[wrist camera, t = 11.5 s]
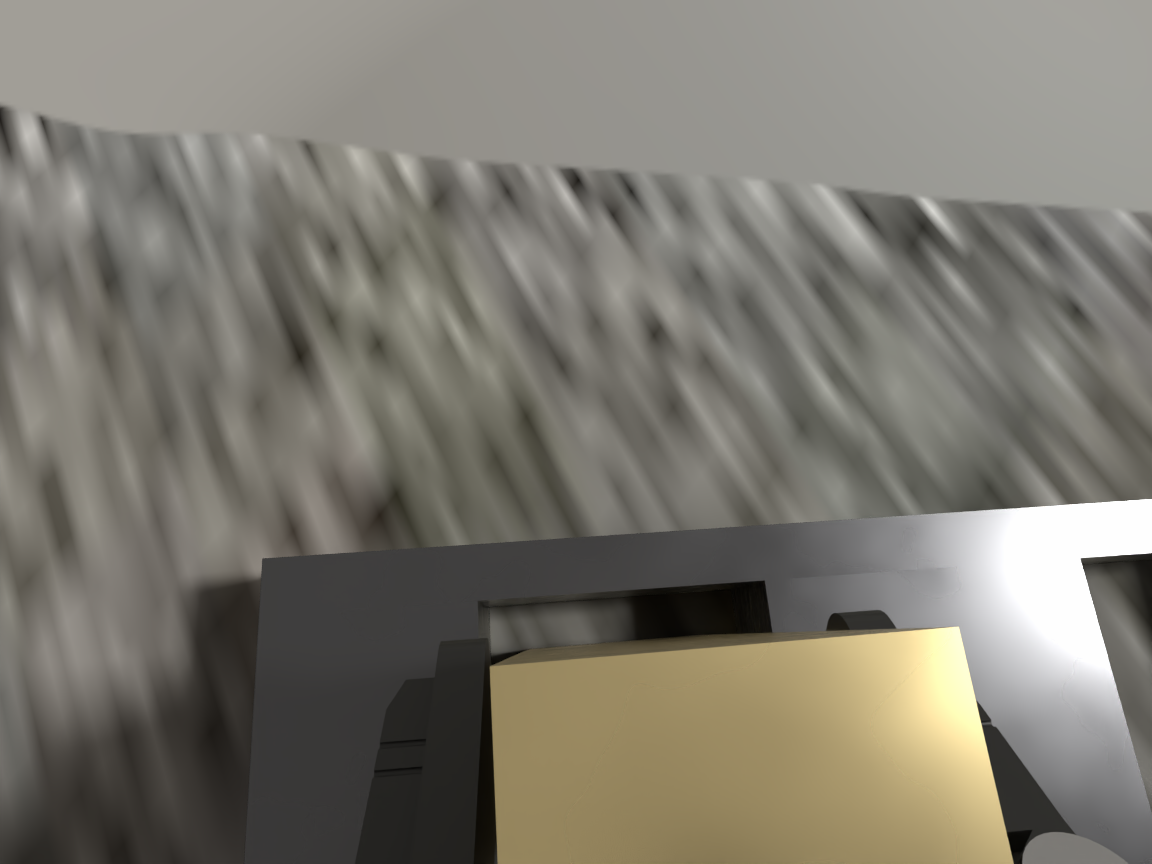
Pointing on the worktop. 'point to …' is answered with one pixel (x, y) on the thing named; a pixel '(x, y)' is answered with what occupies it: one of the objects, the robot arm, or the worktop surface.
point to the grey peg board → (761, 605)
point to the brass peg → (745, 752)
